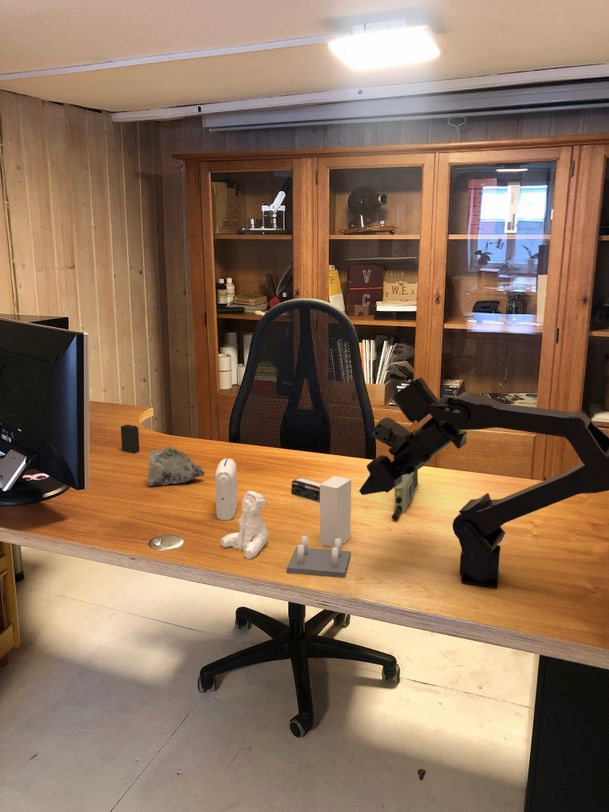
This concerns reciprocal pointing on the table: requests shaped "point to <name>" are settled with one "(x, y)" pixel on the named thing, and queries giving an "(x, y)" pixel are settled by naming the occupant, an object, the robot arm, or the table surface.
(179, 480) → the mineral rock
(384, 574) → the table surface
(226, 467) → the photo printer
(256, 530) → the white creature statuette
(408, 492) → the handheld radio
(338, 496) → the block
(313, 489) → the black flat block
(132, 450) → the ink cartridge
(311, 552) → the grey peg board
